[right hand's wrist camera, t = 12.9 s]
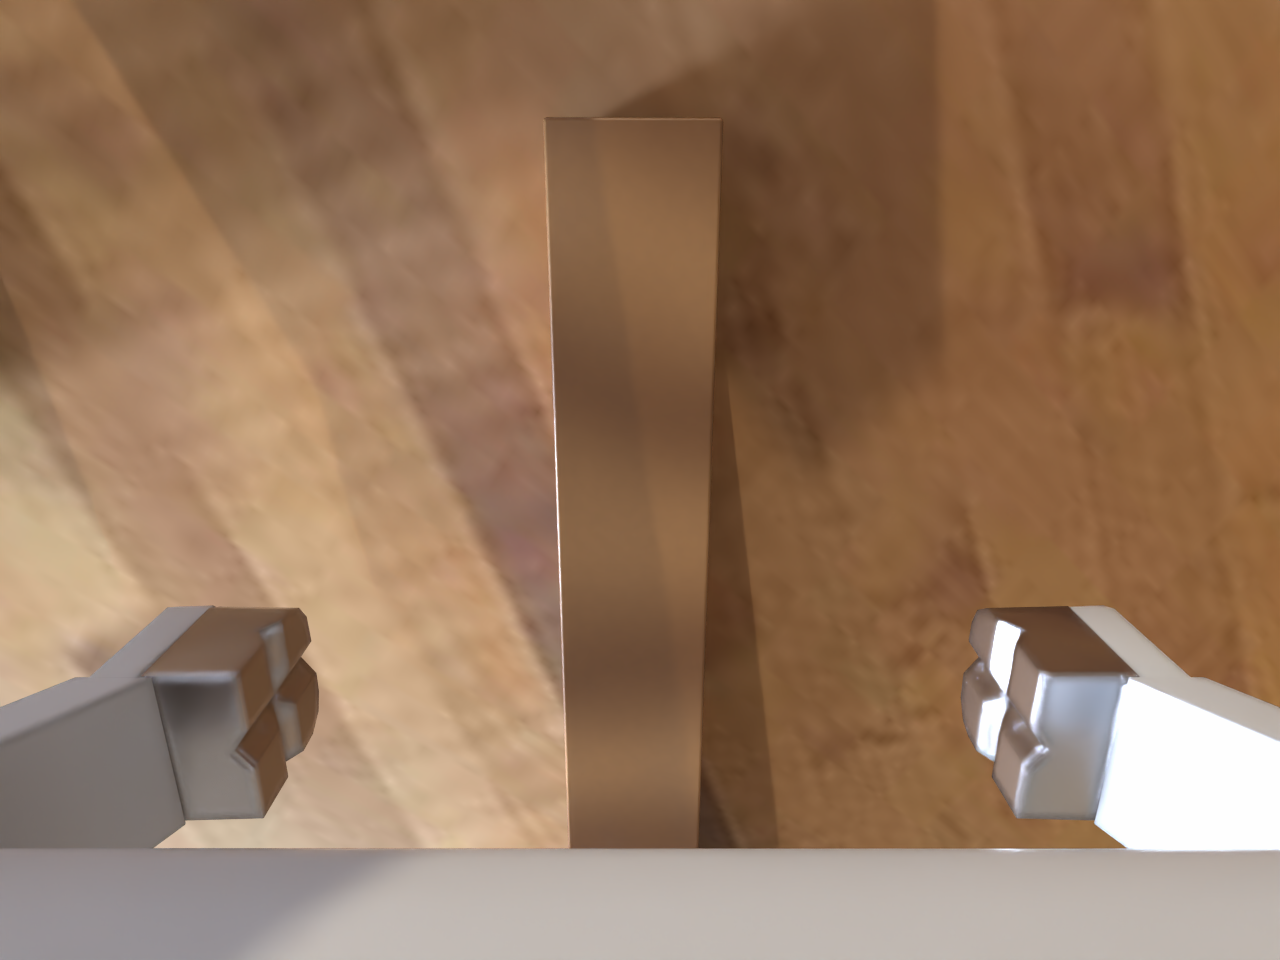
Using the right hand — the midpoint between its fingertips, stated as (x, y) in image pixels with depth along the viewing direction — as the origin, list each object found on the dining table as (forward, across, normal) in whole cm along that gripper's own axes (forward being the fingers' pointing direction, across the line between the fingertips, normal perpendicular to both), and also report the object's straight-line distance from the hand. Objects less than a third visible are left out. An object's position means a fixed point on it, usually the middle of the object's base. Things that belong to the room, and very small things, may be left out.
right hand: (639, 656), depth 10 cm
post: (+23, 0, -27) cm, 36 cm away
